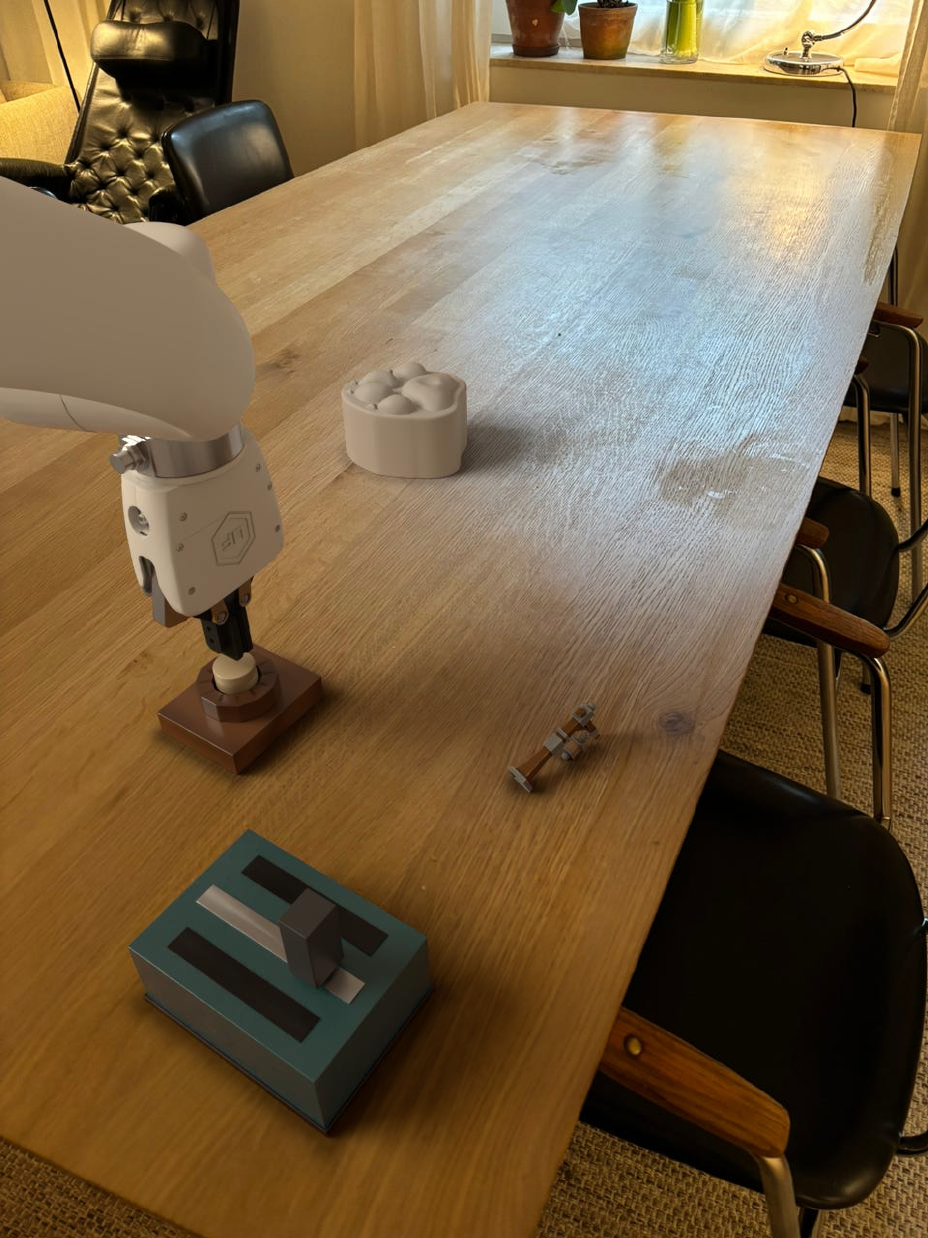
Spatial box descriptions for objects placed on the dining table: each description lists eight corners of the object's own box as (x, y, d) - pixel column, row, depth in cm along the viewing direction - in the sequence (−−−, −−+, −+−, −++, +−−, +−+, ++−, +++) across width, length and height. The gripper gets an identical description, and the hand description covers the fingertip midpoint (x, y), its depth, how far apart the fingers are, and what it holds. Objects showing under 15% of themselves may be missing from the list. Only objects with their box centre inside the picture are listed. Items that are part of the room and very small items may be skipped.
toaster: (326, 1138, 54) (314, 1088, 50) (144, 1001, 60) (120, 946, 56) (436, 990, 61) (433, 935, 57) (261, 879, 67) (247, 823, 63)
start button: (238, 701, 75) (234, 684, 74) (207, 685, 76) (203, 668, 75) (267, 676, 77) (263, 660, 76) (236, 661, 78) (233, 644, 77)
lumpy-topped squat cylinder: (455, 481, 104) (454, 407, 98) (335, 472, 106) (327, 398, 100) (471, 431, 112) (470, 360, 106) (358, 423, 113) (352, 353, 108)
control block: (237, 775, 74) (228, 739, 71) (162, 732, 77) (151, 695, 75) (324, 695, 80) (318, 659, 78) (251, 658, 84) (243, 623, 81)
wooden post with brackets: (614, 732, 75) (600, 704, 72) (539, 806, 74) (521, 782, 71) (598, 718, 77) (583, 690, 73) (524, 791, 75) (505, 766, 72)
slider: (317, 990, 54) (306, 939, 51) (289, 972, 55) (276, 920, 51) (345, 957, 55) (336, 905, 52) (317, 939, 56) (307, 887, 53)
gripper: (132, 509, 56) (194, 730, 68) (306, 400, 65) (333, 612, 77) (46, 470, 59) (120, 688, 71) (223, 371, 69) (262, 579, 81)
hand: (231, 648), depth 74 cm, fingers closed
